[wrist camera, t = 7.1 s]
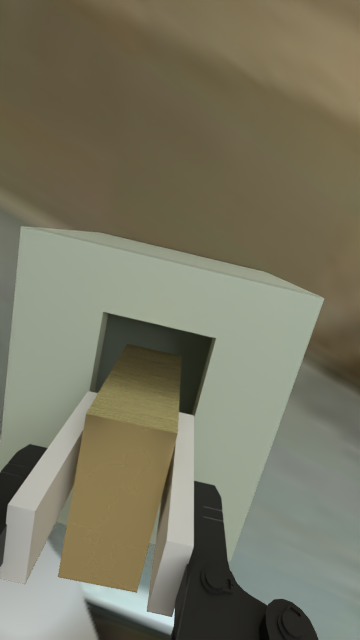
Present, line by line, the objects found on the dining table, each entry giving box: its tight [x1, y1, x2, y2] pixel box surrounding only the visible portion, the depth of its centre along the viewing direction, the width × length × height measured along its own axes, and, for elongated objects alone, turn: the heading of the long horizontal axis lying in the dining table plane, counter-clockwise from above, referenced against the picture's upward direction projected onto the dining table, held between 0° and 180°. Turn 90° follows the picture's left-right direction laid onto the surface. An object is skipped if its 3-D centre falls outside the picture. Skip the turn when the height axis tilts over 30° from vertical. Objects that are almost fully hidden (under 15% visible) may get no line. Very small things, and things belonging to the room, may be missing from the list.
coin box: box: [0, 226, 324, 562], centre depth 22 cm, size 16×14×12 cm
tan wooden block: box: [58, 344, 182, 592], centre depth 14 cm, size 7×3×7 cm, turn 167°
